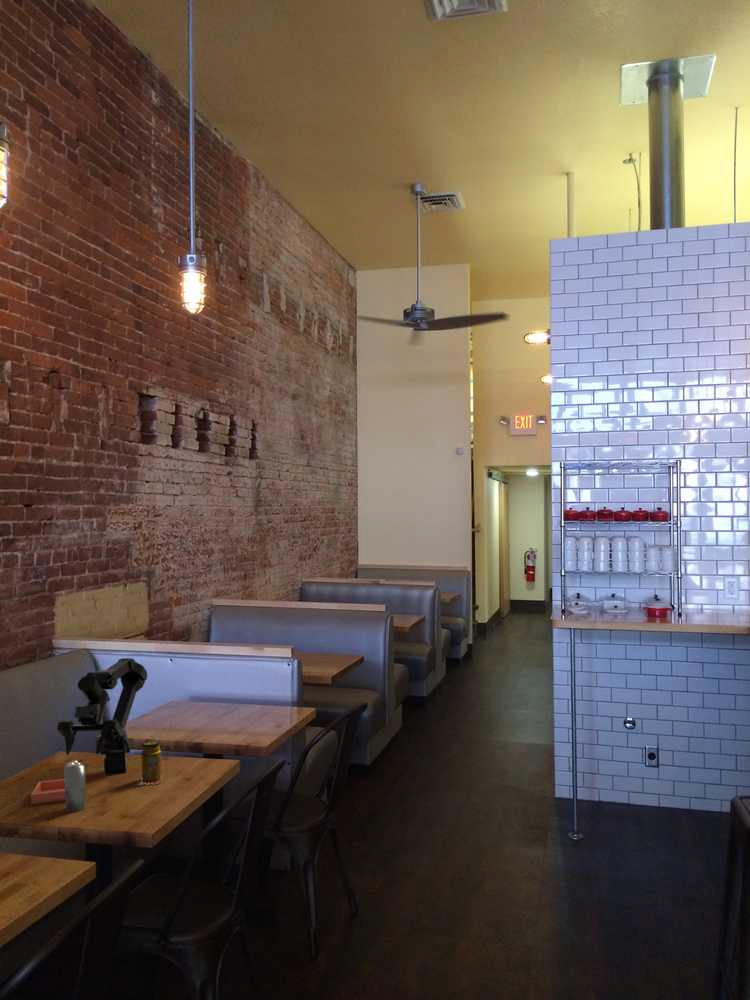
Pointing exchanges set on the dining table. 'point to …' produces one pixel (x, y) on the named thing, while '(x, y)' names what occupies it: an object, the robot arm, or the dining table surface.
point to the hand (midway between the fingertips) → (81, 754)
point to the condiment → (151, 762)
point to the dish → (48, 792)
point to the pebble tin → (75, 786)
